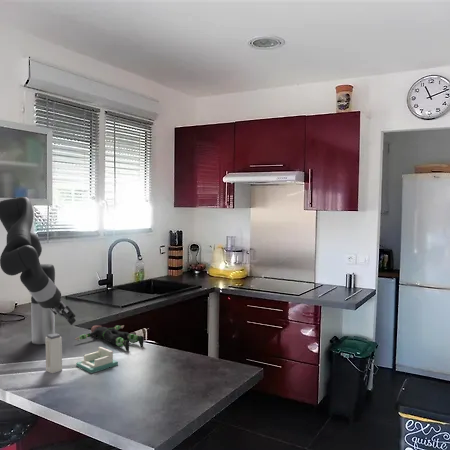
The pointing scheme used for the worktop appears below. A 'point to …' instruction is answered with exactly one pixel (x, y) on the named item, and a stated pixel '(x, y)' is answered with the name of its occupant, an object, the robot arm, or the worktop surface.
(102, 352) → the green base socket
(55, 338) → the cream rectangular block
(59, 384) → the worktop surface
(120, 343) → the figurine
